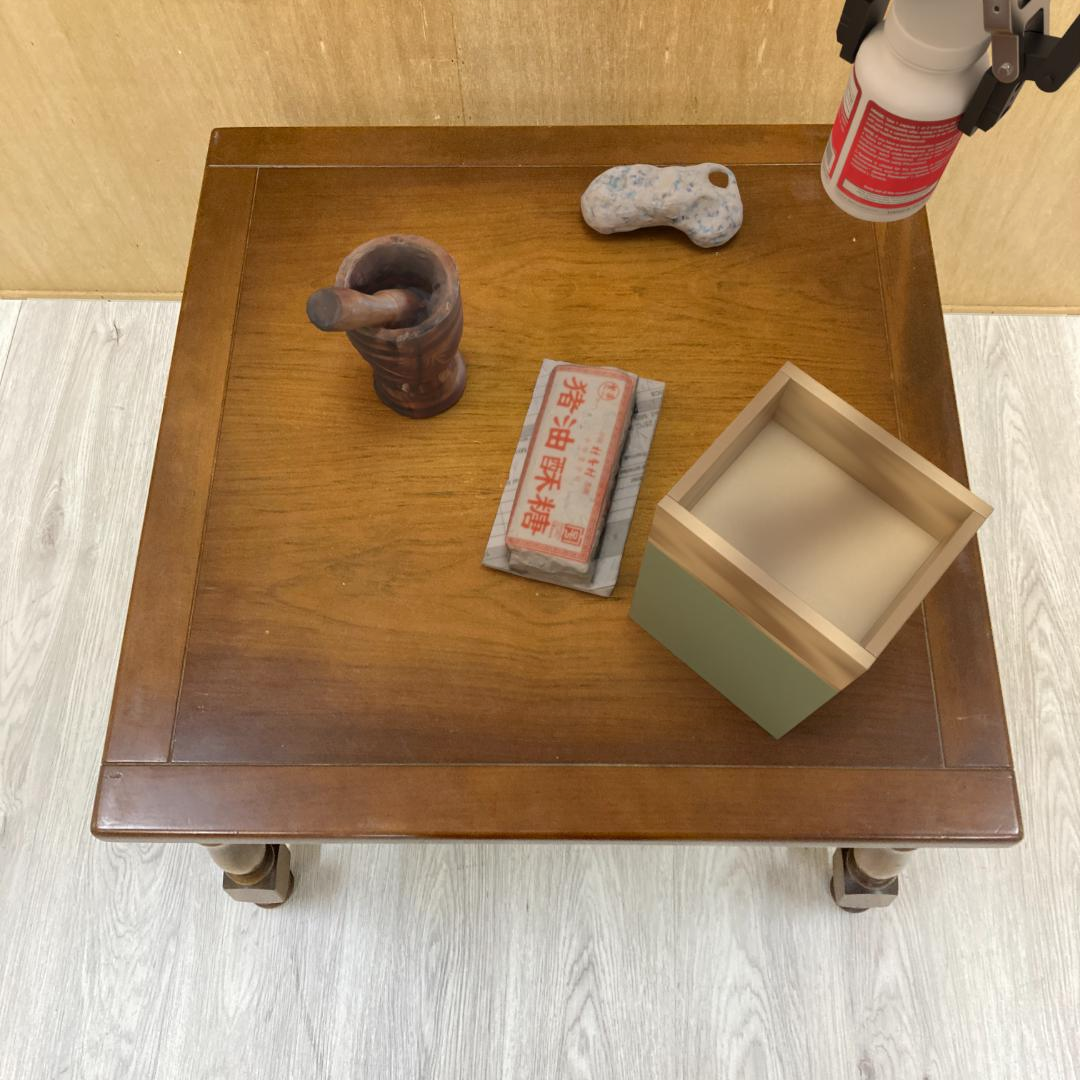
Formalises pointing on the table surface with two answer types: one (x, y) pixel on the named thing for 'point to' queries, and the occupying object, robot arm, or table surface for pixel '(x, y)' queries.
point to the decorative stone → (665, 201)
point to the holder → (816, 525)
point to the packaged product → (576, 476)
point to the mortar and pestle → (400, 320)
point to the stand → (724, 646)
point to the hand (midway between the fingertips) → (913, 85)
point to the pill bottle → (905, 107)
